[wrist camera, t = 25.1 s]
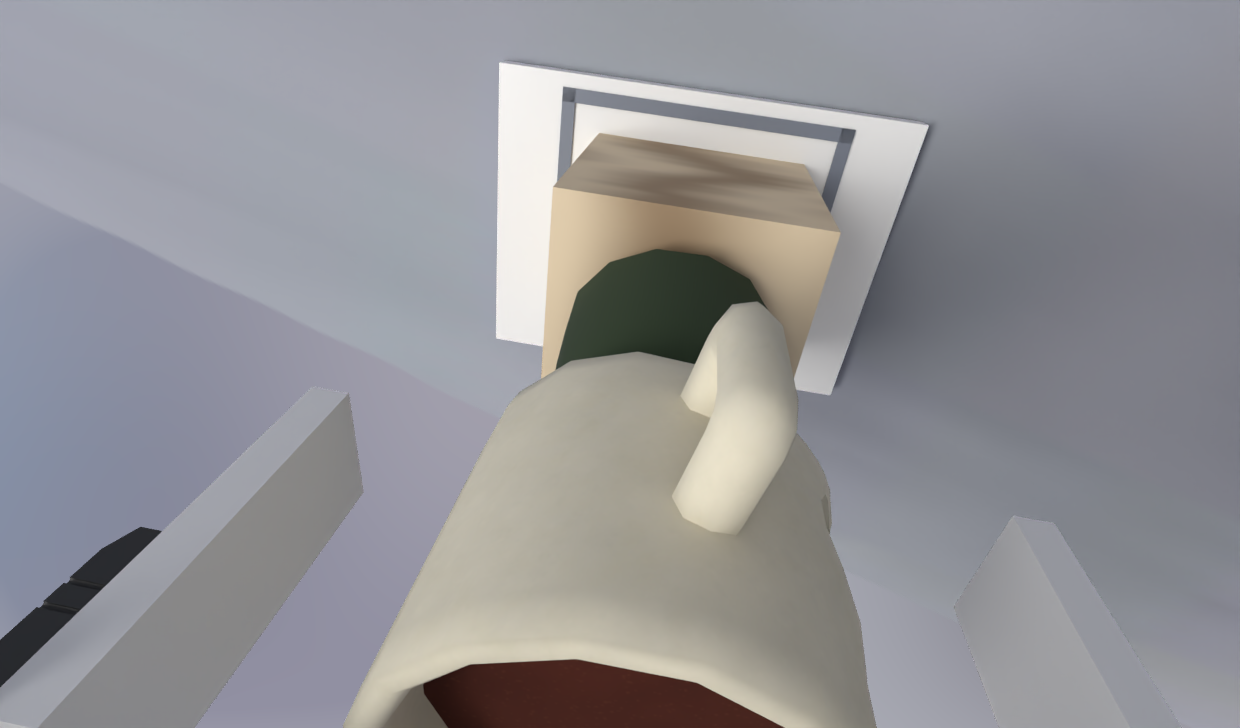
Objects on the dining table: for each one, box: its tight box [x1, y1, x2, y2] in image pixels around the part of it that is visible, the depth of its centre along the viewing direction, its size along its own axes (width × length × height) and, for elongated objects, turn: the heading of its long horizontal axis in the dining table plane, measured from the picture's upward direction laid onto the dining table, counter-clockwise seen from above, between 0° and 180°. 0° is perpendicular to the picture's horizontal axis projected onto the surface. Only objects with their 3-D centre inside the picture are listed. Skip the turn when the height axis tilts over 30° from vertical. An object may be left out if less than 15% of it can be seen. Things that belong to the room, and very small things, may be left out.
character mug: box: [343, 249, 877, 728], centre depth 13 cm, size 11×7×13 cm, turn 162°
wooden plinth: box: [541, 133, 841, 379], centre depth 22 cm, size 8×8×8 cm
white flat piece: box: [496, 61, 929, 395], centre depth 26 cm, size 16×12×1 cm
